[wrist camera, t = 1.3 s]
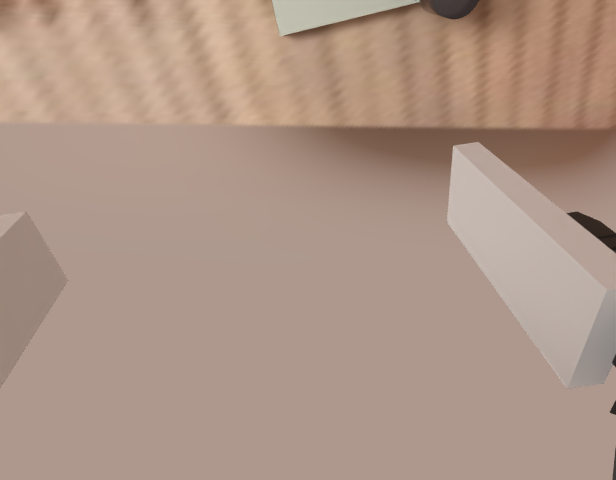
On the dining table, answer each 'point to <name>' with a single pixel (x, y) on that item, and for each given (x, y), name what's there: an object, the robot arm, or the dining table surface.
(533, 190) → the robot arm
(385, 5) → the door board
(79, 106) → the dining table surface
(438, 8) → the swing bar
